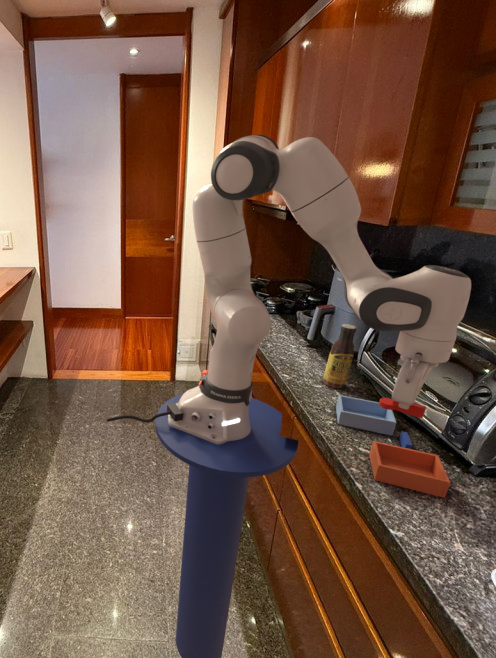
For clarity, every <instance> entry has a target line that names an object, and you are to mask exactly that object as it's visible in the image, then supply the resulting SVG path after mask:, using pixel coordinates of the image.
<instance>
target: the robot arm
mask: <svg viewBox="0 0 496 658" xmlns="http://www.w3.org/2000/svg"><path fill="white" fill-rule="evenodd" d="M339 161H340V160H338V159H337V157H336V156H335V155H334V153H333V152H332V151H331V150H330V149H329V147H327V146H326V145H325V144H324V142H323V141H322V140H320V139H319V138H317V137H313V136H306V137H303V138H299V139H297V140H295V141H293V142H291V143H290V144H288V145H287V146H285V147H283V148H282V147H281V148H279V146H278V144H277V142H276V141H274V140H273V138H272V137H269V136H268V135H264V134H252V135H246V136H243V137H240V138H238V139H236V140H234V141H233V142H231V143H229V144H227V145H225V147H223V148H222V149H221V150H220V151H219V152H218V154H217V155H216V156H215V159H214V160H213V162H212V165H211V169H210V181H211V183H208V184H206V185H204V186H202V187H201V188H200V189H198V190H197V191H196V192H195V193H194V195H193V197H192V200H191V212H192V214H191V215H192V223H193V230H194V231H193V232H194V235H195V240H196V245H197V249H198V253H199V258H200V261H201V266H202V270H203V275H204V283H205V284H204V285H205V289H206V296H207V302H208V307H209V311H210V314H211V315H212V317H213V318H214V320H215V323H216V334H215V338H214V343H213V345H212V348H211V349H209V357H208V369H204V370H202V372H201V373H200V378H199V383H198V385H197V386H195V387H192V388H190V389H188V390H186V391H185V392H184V393H182V394H183V395H182V397H181V398H180V400H179V402H178V403H176V404H175V403H174V404H168V405H167V412H164V413H160V414H157V413H156V414H155V415H153V416H152V417H151V418H142V417H139V416H136V415H132V414H131V415H130V414H128V415H126V414H125V415H119V416H113V417H108V418H106V423H107V422H108V423H109V422H113V421H118V420H122V419H124V420H125V419H131V420H135V421H139V422H142V423H152V422H155V421H156V418H158V417H161V416H165V415H168V423H169V425H170V426H171V427H173V428H176V429H179V430H181V431H184V432H186V433H189V434H191V435H194V436H197V437H199V438H202V439H204V440H207V441H209V442H212V443H215V444H218V445H220V444H224V443H226V442H228V441H235V440H240V439H243V438H245V437H247V436H248V435H249V434H250V432H251V426H250V420H249V403H250V401H251V398H252V395H253V382H252V379H253V370H254V364H255V358H256V356H257V352H258V350H259V347H260V344H261V342H262V341H264V339H265V338H267V337H268V335H269V333H270V330H271V327H272V320H271V317H270V313H269V310H268V308H267V306H266V305H265V303H264V302H263V301H261V300H260V299H259V298H258V297H257V296H256V294H255V293H254V290H253V287H252V282H251V266H252V255H251V250H250V249H251V248H250V244H249V238H248V234H247V228H246V223H245V218H244V211H243V210H244V209H243V206H244V201H245V200H248V199H252V198H255V197H257V196H260V195H264V194H267V193H270V192H271V191H274V192H276V193H277V194H279V196H280V197H281V198H282V200H283V201H284V203H285V204H286V206H287V208H288V209H289V212H290V213H291V215H292V216H293V218H294V219H295V221H296V222H297V223H298V225H299V226H300V228H302V230H303V231H304V232H305V233H306V235H308V236H309V237H310V238H311V239H312V240H314V241H315V242H317V243H319V244H320V245H321V246H323V247H324V249H325V250H326V251H327V253H328V254H329V256H330V258H331V259H332V261H333V263H334V265H335V266H336V268H337V270H338V271H339V273H340V274H341V277H342V279H343V285H344V291H343V293H344V299H345V302H346V304H347V306H348V307H349V308H350V309H351V310H353V311H354V313H355V314H356V316H357V317H358V319H359V320H360V321H361V322H362V323H363V324H364V325H365V326H366V327H368V328H369V329H372V330H375V331H378V332H399V333H398V337H397V341H396V344H395V349H394V350H395V352H397V353H398V354H399V355H400V356H399V358H400V360H401V361H402V362H403V364H402V365H401V366H400V369H399V371H398V374H397V377H396V380H395V383H394V387H393V390H392V393H391V399H392V400H394V401H397V402H399V407H400V408H403V409H409V407H410V405H413V403H416V399H417V398H418V396H419V394H420V392H421V390H422V388H423V386H424V384H425V382H426V381H427V378H428V376H429V375H430V372H431V371H432V369H433V368H434V369H435V368H437V367H438V366H439V364H443V363H447V362H448V361H449V360H450V359H451V358H450V357H451V354H452V351H453V348H454V346H455V342H456V340H457V336H458V333H457V331H458V326H459V324H460V323H461V322H462V320H463V319H464V317H465V314H466V311H467V307H468V304H469V301H470V296H471V291H472V280H471V278H470V276H469V275H467V274H465V273H464V272H462V271H460V270H457V269H453V268H450V267H447V266H442V265H436V264H428V265H424V266H423V267H421V268H420V269H418V270H415V271H413V272H411V273H408V274H406V275H403V276H402V275H401V276H399V277H395V278H393V276H392V275H390V274H389V273H387V271H384V270H383V269H381V268H380V267H378V266H377V265H376V264H375V263H374V262H373V260H372V258H371V256H370V255H369V254H370V253H369V252H368V250H367V249H366V247H365V245H364V243H363V242H362V240H361V237H360V236H359V235H360V234H359V232H358V221H359V219H360V216H361V213H362V205H361V202H360V199H359V196H358V193H357V191H356V188H355V185H354V184H353V182H352V180H351V179H350V176H349V175H348V173H347V172H346V170H345V168H344V167H343V165H342V164H341V162H339Z"/></svg>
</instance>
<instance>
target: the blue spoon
mask: <svg viewBox="0 0 496 658" xmlns="http://www.w3.org/2000/svg"><path fill="white" fill-rule="evenodd" d="M399 443H400V447H403V448H408V449H412V450H414V449H413V443H412V440H411V438H410V435H409V433H408V432H406V431H403V430H402V431H401V433H400V436H399Z"/></svg>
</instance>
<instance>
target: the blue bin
mask: <svg viewBox="0 0 496 658" xmlns="http://www.w3.org/2000/svg"><path fill="white" fill-rule="evenodd" d="M335 405H336V406H335V411H336V420H337V425H340V426H345V427H350V428H354V429H360V430H364V431H368V432H373V433H378V434H383V435H387V436H392V437H393V435H394V432H395V428H396V426H397V420H396V417H395V414H394V410H388V409H384V408H382V407H381V406H380V405H379V402H378V401H373V400H369V399H362V398H357V397H353V396H348V395H347V396H346V395H342V394H338V397H337V401H336V404H335Z"/></svg>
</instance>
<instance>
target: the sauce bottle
mask: <svg viewBox="0 0 496 658" xmlns="http://www.w3.org/2000/svg"><path fill="white" fill-rule="evenodd" d="M339 328H340V331H339V335H338V338H337V339H336V340H334V342H333V344H332V345H331V349H330V352H329V355H328V359H327V362H326V366H325V370H324V372H323V373H324V374H323V382H322V383H323V384H324V385H325V386H326V387H330V388H333V389H342V388H344V386H345V384H346V383H347V380H348V376H349V373H350V369H351V365H352V361H353V359H354V353H355V344H354V337H355V335H356V333H357V326H355V325H353V324H348V323H343V324H341V326H340V327H339Z"/></svg>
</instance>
